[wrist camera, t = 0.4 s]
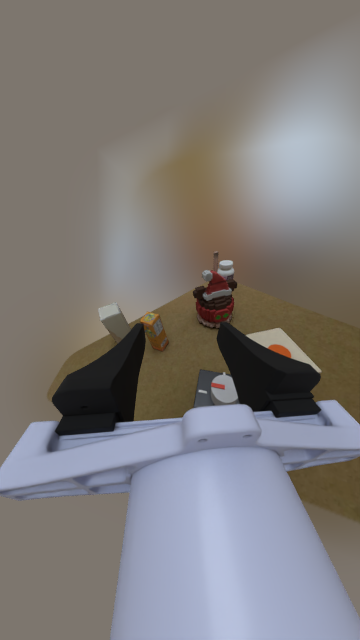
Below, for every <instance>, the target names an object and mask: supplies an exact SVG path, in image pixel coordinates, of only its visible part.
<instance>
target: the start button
mask: <svg viewBox="0 0 360 640" xmlns="http://www.w3.org/2000/svg"><path fill="white" fill-rule="evenodd" d="M268 349H270V350H272V351H275V352H277V353H279V354H282V355H284V356H287V357H289V358H291V353H290V351H289V350H288V349H287V348H285V347H284V346H281V345H277V344H274V345H270V346H269V347H268Z"/></svg>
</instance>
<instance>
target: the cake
mask: <svg viewBox="0 0 360 640" xmlns="http://www.w3.org/2000/svg"><path fill="white" fill-rule="evenodd" d="M217 272H218V252H217V251H216V252H214V270H212V271H209V270H205V271H203V273H202V277H203V279H204V280H206V281H209V284H208V287H207V288H205V287H204V286H201V287H197V288H195V289H196V290H194V291H193V296H194V298H197V302H196V310H197V312H198V315H197V318H198V320H199V322H200V323H203V325H207V327H208V326H210V328H211V327H216V328H219V327H220V322H227V323H230V320H231V318H232V316H231V315H232V311H233V307H234V298H233V297H232V295H231V292H232V291H234V288H237V282H235V281H234V280H233V279H229V280H225V279H224V278H223V277H222V276H221V275H220V274H218V273H217Z"/></svg>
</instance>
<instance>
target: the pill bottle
mask: <svg viewBox="0 0 360 640" xmlns="http://www.w3.org/2000/svg"><path fill="white" fill-rule="evenodd" d="M232 266H233V262H232V261H229V260H224V261H221V262H220V265H219V267H220V268H219V269H218V272H217V273H218V274H220V275H221V276H222V277H223V278H224V279H225V280H229V279H233V276H234V269H233V268H232Z"/></svg>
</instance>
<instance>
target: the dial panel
mask: <svg viewBox="0 0 360 640" xmlns="http://www.w3.org/2000/svg"><path fill="white" fill-rule="evenodd" d="M219 375H227V376H230V377H231V378H232V376H231V375H229V374H225V373H224V372H223V373H218V372H212V371H206V370H201V369H200V372H199V378H198V384H197V390H196V396H195V402H194V408H197V407H203V406H216V405H215V404H214V403H213V401H212V398H211V384H212V381H213V379H214V378H215V377H217V376H219ZM236 404H240V403H239V399H237V401H236Z"/></svg>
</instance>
